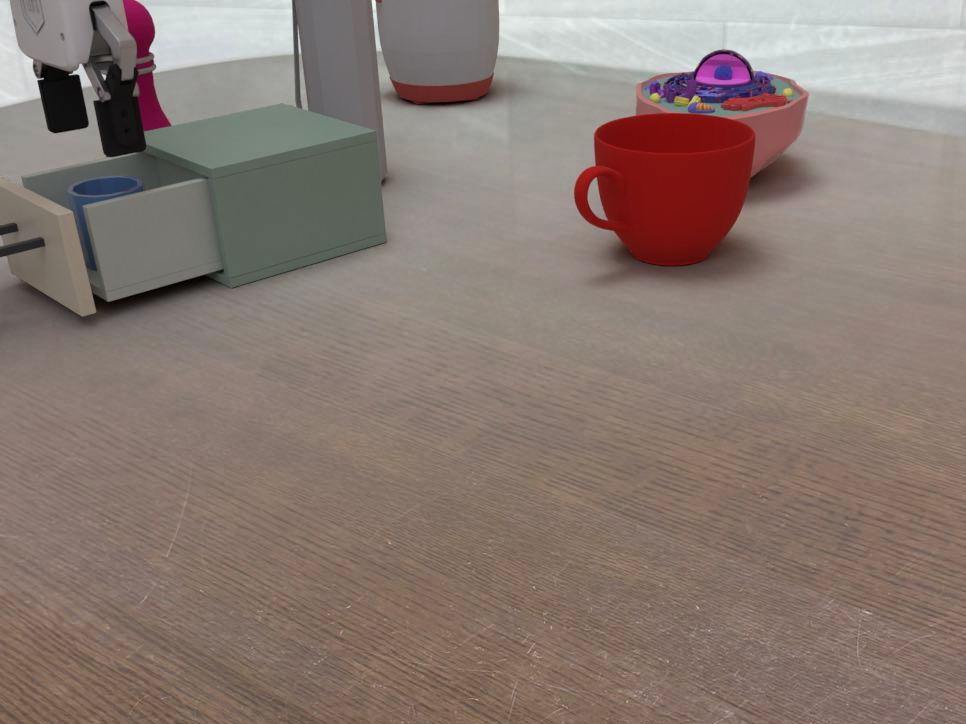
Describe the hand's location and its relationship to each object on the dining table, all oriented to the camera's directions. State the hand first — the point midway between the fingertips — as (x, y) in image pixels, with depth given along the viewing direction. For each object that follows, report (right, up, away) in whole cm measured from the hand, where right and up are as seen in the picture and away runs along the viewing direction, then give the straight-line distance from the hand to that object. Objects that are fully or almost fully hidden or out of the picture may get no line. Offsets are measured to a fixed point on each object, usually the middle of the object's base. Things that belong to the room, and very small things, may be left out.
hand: (96, 141), depth 93 cm
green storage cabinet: (+10, -5, +13) cm, 17 cm away
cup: (0, -8, +5) cm, 9 cm away
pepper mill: (-4, +2, +25) cm, 25 cm away
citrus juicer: (+21, +26, +61) cm, 69 cm away
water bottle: (+14, +6, +29) cm, 33 cm away
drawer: (-1, -10, +4) cm, 11 cm away
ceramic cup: (+44, -7, +8) cm, 45 cm away
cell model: (+52, +6, +28) cm, 59 cm away
